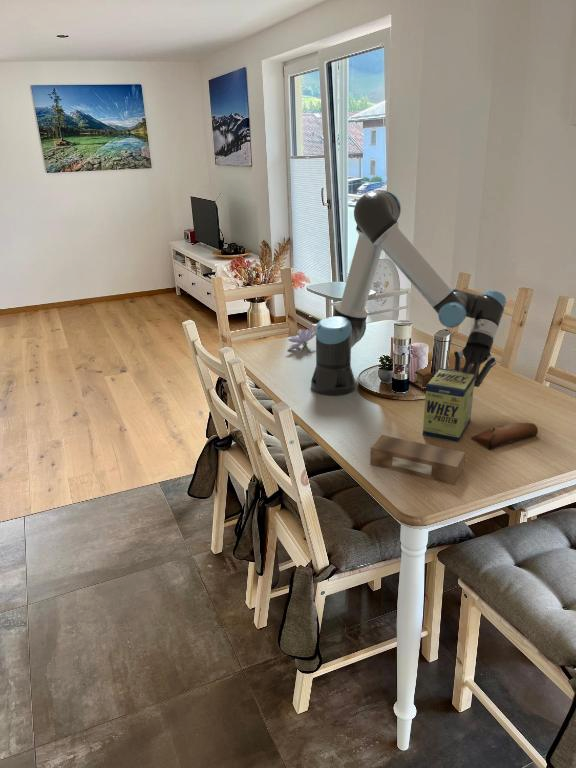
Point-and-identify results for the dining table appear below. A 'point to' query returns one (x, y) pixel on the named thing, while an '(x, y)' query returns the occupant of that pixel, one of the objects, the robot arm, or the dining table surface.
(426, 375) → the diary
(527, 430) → the sunglasses case
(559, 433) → the dining table surface
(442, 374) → the protein box
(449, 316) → the robot arm
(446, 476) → the display riser
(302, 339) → the water lily
